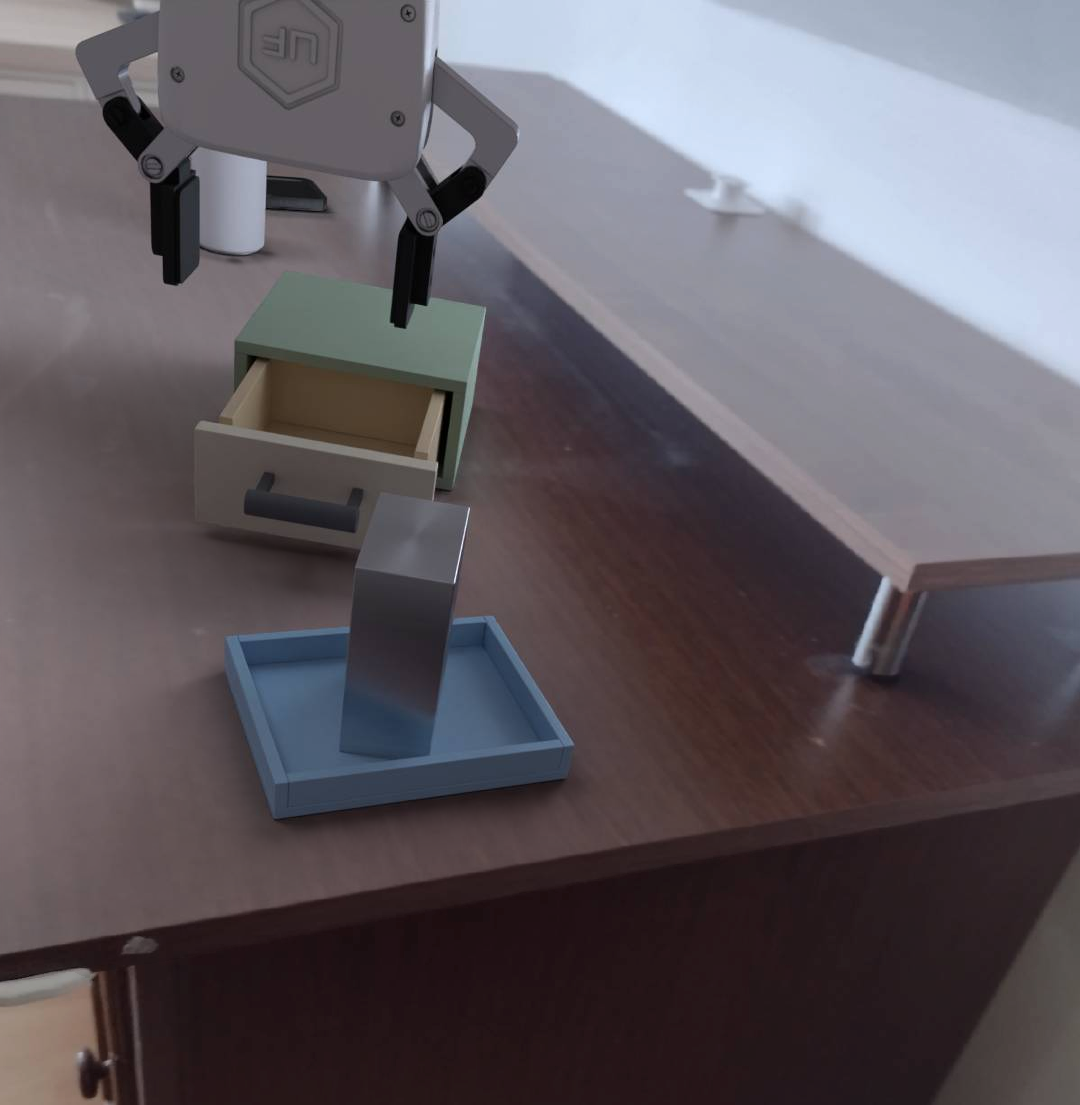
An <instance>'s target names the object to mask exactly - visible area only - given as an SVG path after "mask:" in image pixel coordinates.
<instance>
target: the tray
mask: <svg viewBox="0 0 1080 1105" xmlns="http://www.w3.org/2000/svg"><path fill="white" fill-rule="evenodd" d="M349 629H350V625H349V626H338V627H325V628H312V629H301V630H300V629H299V630H287V631H275V632H273V631H272V632H260V633H250V634H249V633H247V634H238V635H226V636H225V637H224V673H225V675H226V678H227V681H228V684H229V688H230V690H231V691H230V692H231V694H232V697H233V700H234V703H235V706H236V709H237V712H238V715H239V718H240V721H241V724H242V727H243V730H244V733H245V736H246V739H247V743H248V746H249V749H250V752H251V755H252V757H253V761H254V764H255V766H256V770H257V774H258V776H259V779H260V782H261V785H262V788H263V791H264V794H265V797H266V801H267V803H268V806H269V810H270V813H271V815H272V818H273V820H279V819H286V818H293V817H294V818H295V817H300V816H301V817H302V816H308V815H315V814H323V813H331V812H337V811H344V810H351V809H358V808H364V807H365V808H367V807H371V806H380V805H386V804H393V803H401V802H408V801H415V800H422V799H429V798H437V797H442V796H450V795H456V794H464V793H471V792H472V793H473V792H479V791H484V790H485V791H486V790H487V791H488V790H493V789H500V788H508V787H515V786H522V785H528V784H534V783H542V782H549V781H555V780H556V781H557V780H565V779H568V776H569V775H568V774H569V772H570V771H569V770H570V767H571V763H572V758H573V754H574V749H575V743H574V742H573V740H572V738H571V737H570V735H569V734H568V732H567V731H566V729H565V728H564V726H563V724H562V723H561V721H560V720H559V718H558V717H557V715H556V714H555V712H554V711H553V709H552V707H551V705H550V704H549V702H548V701H547V699H546V698H545V696H544V694H543V693H542V691H541V689H540V688H539V686H538V685H537V683H536V682H535V680H534V678H533V677H532V675H531V674H530V672H529V671H528V669H527V667H526V666H525V664H524V662H523V661H522V660H521V658H520V657H519V655H518V653H517V652H516V650H515V648H514V647H513V645H512V643H511V642H510V641H509V639H508V637H507V636H506V634H505V632H504V631H503V630H502V627H501V626H500V625H499V623H498V622H497V620H496V618H495V617H494V616H493V615H478V616H477V615H476V616H466V617H464V616H463V617H454V619H453V625H452V632H451V638H450V645H449V652H448V658H447V665H446V672H445V678H444V684H443V689H442V695H441V700H440V705H439V710H438V716H437V721H436V726H435V731H434V737H433V742H432V747H431V753H430V756H423V757H415V758H407V759H399V760H392V759H385V758H379V757H373V756H367V755H360V754H354V753H348V752H342V751H339V742H340V731H341V720H342V708H343V697H344V686H345V674H346V663H347V652H348V640H349Z"/></svg>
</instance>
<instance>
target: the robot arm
mask: <svg viewBox="0 0 1080 1105" xmlns="http://www.w3.org/2000/svg"><path fill="white" fill-rule="evenodd" d="M440 5H441V0H159V10H157V11H154V12H152V13H149V14H147V15H144V16H141V17H138V18H136V19H134V20H131V21H129V22H127V23H124V24H121V25H119V26H115V27H114V28H111V29H109V30H105V31H104V32H101V33H97V34H96V35H93V36H90V37H89V38H86V39H84V40H81V41H80V42H78V43H77V45H76V47H75V53H74V54H75V57H76V61H77V63H78V65H79V67H80V69H81V71H82V73H83V75H84V78H85V79H86V82H87V83H88V85H89V87H90V89H91V92H92V93H93V95H94V98H95V100H96V101H98V103H99V105H100V107H101V109H102V111H101V112H102V119H103V121H104V123H105V125H106V126H107V127H108V128H109V129H110V131H111V132H112V133H113V135H114V136H115V137H116V138H117V139H118V140H119V142H120V143H121V145H123V147H124V148H125V149H126V150H127V152H129V154H130V155H131V157H133V159H134V160H135V161H136V162H137V169H138V172H139V174H140V175H141V176H142V178H143V179H145V180H146V181H147V182H149V206H150V207H149V210H150V212H149V213H150V245H151V246H150V247H151V252H152V254H153V255H154V256H158V257H159V256H160V257H162V259H161V260H162V282H163V284H165V285H169V286H174V287H178V286H179V285H180V284H182V285H183V284H184V283H185V281H186V280H188V278H190V277H191V275H192V274H193V273H194V272H195V271H196V270H197V269H198V267H199V266H200V260H201V252H200V251H201V247H200V179H199V177H198V176H196V170H192V168H191V159H190V158H192V154H193V153H194V152H195V151H196V150H197V149H198V148H199V147H202V148H205V149H209V150H213V151H218V152H223V153H227V154H232V155H237V156H242V157H247V158H252V159H257V160H262V161H267V163H272V164H277V165H282V166H288V167H292V168H293V167H294V168H297V169H303V170H308V171H313V172H318V173H323V174H329V175H334V176H338V177H345V178H351V179H356V180H362V181H369V182H386V183H387V185H388V186H389V187H390V189H391V191H392V193H393V194H394V197H396V199H397V201H398V202H399V204H400V206H401V207H402V210H403V211H404V212H405V214H406V218H405V220H404V222H403V225H402V226H401V228H400V230H399V233H398V236H397V245H396V254H395V263H394V264H395V265H394V275H393V283H392V290H393V293H392V304H391V314H390V323H393V324H394V327H396V328H402V329H406V328H407V326H408V323H409V321H410V318H411V316H412V313H413V311H414V307H415V304H416V305H422V306H428V303H429V299H430V297H431V293H432V286H433V277H434V271H435V270H434V269H435V260H436V254H437V252H436V251H437V245H438V244H437V243H438V237H439V236H438V235H439V232H440V230H441V228H443V227H444V226H446V225H447V224H448V223H449V222H451V221H452V220H453V219H455V218H456V217H457V216H458V215H460V214H461V213H462V212H464V211H465V210H466V209H468V208H469V207H471V206H472V205H473V204H474V203H476V202H477V201H479V199H481V198H482V197H483V196H484V193H485V192H486V191H487V189H488V187H489V186H490V185H491V183H492V181H493V180H494V179H495V178H496V177H497V175H498V174H499V172H500V171H501V169H502V167H503V166H504V164H505V163H506V162H507V160H508V159H509V158H510V157H511V155H512V153H513V152H514V150H515V149H516V148H517V145H518V142H519V139H520V132H521V131H520V128H519V125H518V124H517V122H516V121H514V120H513V119H512V118H511V117H510V116H508V114H506V113H505V112H504V111H502V109H500V108H499V107H498V106H497V105H495V104H494V102H492V101H491V100H490V99H489V98H487V97H486V96H485V95H484V94H483V93H481V92H480V91H479V90H478V89H477V88H475V87H474V86H473V85H472V84H471V83H470V82H468V80H466V79H465V78H464V77H462V75H460V74H459V73H458V72H456V70H454V69H453V68H452V67H451V66H449V65H448V64H447V63H446V62H445V61H443V59H441V58H440V57H439V56H438V51H439V33H440V32H439V29H440V9H441V8H440V7H441V6H440ZM156 53H157V66H156V68H157V70H156V71H157V72H156V74H157V75H156V76H157V78H156V79H157V82H156V83H157V99H158V100H157V102H158V109H159V115H160V118H161V121H162V123H163V124H164V126H165V127H164V126H163V124H162V123H161V122H160V120H158V118H157V117H156V115H155V114H154V113H153V112H152V111H151V109H150V107H148V106H147V104H146V103H145V102H144V100H142V98H141V97H140V96H138V94H137V93H136V91H135V89H134V87H133V82H132V79H131V77H130V74H129V66H130V65H131V63H133V62H136V61H138V60H140V59H143V58H145V57H146V58H147V57H148V56H151V55H153V54H156ZM434 105H435V106H436V107H437V108H438V109H440V110H441V111H442V112H443V113H444V114H446V115H447V117H450V118H451V119H452V120H453V121H454V122H456V123H457V124H458V125H459V126H461V128H463V129H464V130H466V132H467V133H469V134H470V135H471V137H472V138H473V140H474V143H475V144H474V145H475V146H474V148H473V150H472V152H471V153H470V155H469V156H468V158H467V160H466V161H465V162H464V163H463V164H462V165H461V166H459V167H458V168H457V169H456V170H454V171H453V172H452V173H450V174H449V175H447V177H445V178H444V179H443V180H441V181H439V180H438V178H437V176H436V174H435V173H434V171H433V169H432V168H431V166H430V164H429V163H428V161H427V159H426V157H425V156H424V154H423V152H424V150H425V149H426V146H427V144H428V141H429V137H430V133H431V127H432V122H433V117H434V116H433V115H434Z"/></svg>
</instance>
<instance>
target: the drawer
mask: <svg viewBox="0 0 1080 1105" xmlns="http://www.w3.org/2000/svg"><path fill="white" fill-rule="evenodd" d="M446 399H447V391H446V390H441V389H435V388H430V387H424V386H419V385H413V384H408V383H402V382H397V381H391V380H386V379H380V378H375V377H369V376H364V375H358V374H353V373H347V372H342V371H336V370H331V369H325V368H320V367H314V366H309V365H303V364H298V363H292V362H287V361H281V360H276V359H270V358H265V357H259V356H258V358H257V359H256V361H255V362H254V364H253V365H252V367H251V368H250V370H249V371H248V373H247V374H246V376H245V377H244V379H243V380H242V382H241V384H240V385H239V387H238V388H237V390H236V391H235V393H234V392H233V394H232V396H231V397H230V399H229V400H228V402H227V403H226V405H225V406H224V408H223V410H222V411H221V413H220V414H219V415H218V422H213V421H208V420H207V421H206V420H199V421H198V423H197V424H196V426H195V427H194V432H193V433H194V435H193V436H194V442H193V443H194V522H195V523H196V522H197V523H202V524H209V525H213V526H218V527H219V526H220V527H225V528H230V529H231V528H232V529H236V530H237V529H238V530H241V531H249V532H255V533H260V534H265V535H272V536H279V537H284V538H290V539H296V540H300V541H301V540H302V541H307V542H312V543H318V544H323V545H331V546H336V547H341V548H342V547H343V548H348V549H353V550H359V551H361V548H362V545H363V542H364V539H365V536H366V533H367V530H368V527H369V524H370V521H371V518H372V515H373V512H374V509H375V506H376V503H377V500H378V498H379V495H380V492H385V493H391V494H396V495H402V496H408V497H414V498H419V499H425V500H431V501H435V500H434V499H435V490H436V488H435V485H436V477H437V469H438V458H439V453H440V445H441V438H442V430H443V422H444V414H445V407H446Z"/></svg>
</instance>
